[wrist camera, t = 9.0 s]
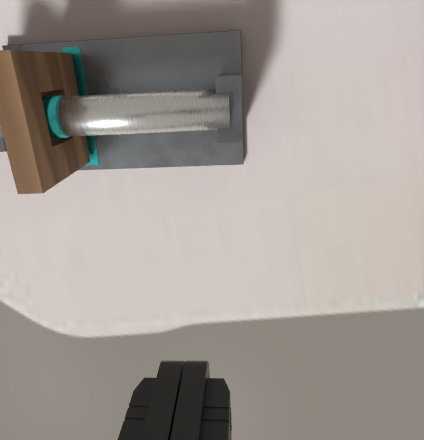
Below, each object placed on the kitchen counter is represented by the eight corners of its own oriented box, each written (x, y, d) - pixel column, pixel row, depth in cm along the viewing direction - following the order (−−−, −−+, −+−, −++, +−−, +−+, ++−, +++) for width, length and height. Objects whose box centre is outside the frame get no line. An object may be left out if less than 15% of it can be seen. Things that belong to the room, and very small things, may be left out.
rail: (240, 31, 34) (240, 22, 27) (243, 162, 39) (244, 186, 31) (7, 46, 36) (-55, 41, 29) (35, 169, 41) (-11, 194, 33)
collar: (71, 53, 35) (9, 49, 26) (90, 161, 39) (42, 193, 29) (49, 54, 35) (-19, 51, 26) (71, 162, 39) (17, 193, 30)
